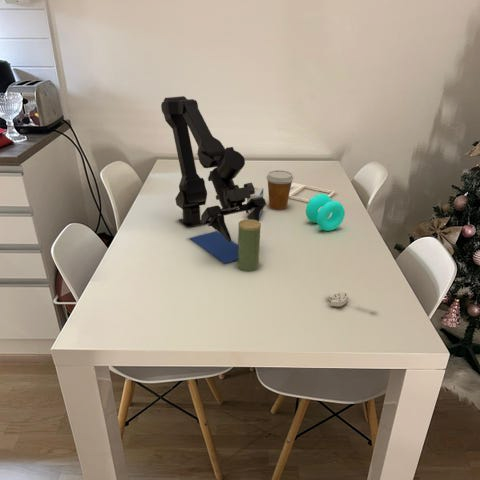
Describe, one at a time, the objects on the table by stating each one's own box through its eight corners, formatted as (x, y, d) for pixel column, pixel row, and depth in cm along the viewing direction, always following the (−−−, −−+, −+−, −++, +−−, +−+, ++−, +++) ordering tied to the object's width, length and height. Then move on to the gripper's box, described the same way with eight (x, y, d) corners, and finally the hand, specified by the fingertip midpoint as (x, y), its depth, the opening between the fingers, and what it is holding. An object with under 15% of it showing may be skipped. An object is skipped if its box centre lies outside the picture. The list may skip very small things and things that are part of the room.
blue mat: (189, 239, 154) (189, 238, 154) (216, 232, 159) (216, 231, 159) (224, 264, 141) (224, 263, 141) (252, 255, 146) (252, 254, 145)
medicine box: (259, 220, 168) (260, 195, 163) (246, 218, 169) (247, 194, 164) (262, 211, 174) (263, 187, 170) (250, 210, 175) (251, 186, 170)
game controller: (328, 295, 128) (330, 287, 126) (373, 302, 126) (375, 293, 124) (326, 306, 123) (328, 298, 122) (373, 313, 121) (375, 304, 120)
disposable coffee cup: (293, 204, 181) (296, 171, 174) (287, 213, 174) (290, 179, 167) (269, 200, 184) (270, 168, 177) (261, 209, 176) (263, 176, 169)
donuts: (318, 234, 159) (322, 204, 154) (302, 222, 167) (305, 194, 161) (344, 229, 163) (348, 200, 157) (327, 218, 170) (331, 190, 165)
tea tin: (236, 261, 142) (237, 219, 135) (257, 260, 143) (259, 219, 136) (238, 271, 137) (239, 228, 130) (259, 271, 138) (262, 228, 131)
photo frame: (293, 182, 198) (335, 190, 190) (293, 184, 198) (334, 193, 191) (276, 192, 187) (320, 202, 180) (276, 195, 188) (319, 205, 181)
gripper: (205, 178, 127) (226, 233, 126) (264, 168, 136) (284, 219, 134) (192, 198, 137) (211, 249, 136) (248, 187, 146) (267, 235, 144)
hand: (244, 238), depth 137 cm, fingers open, 9 cm apart
